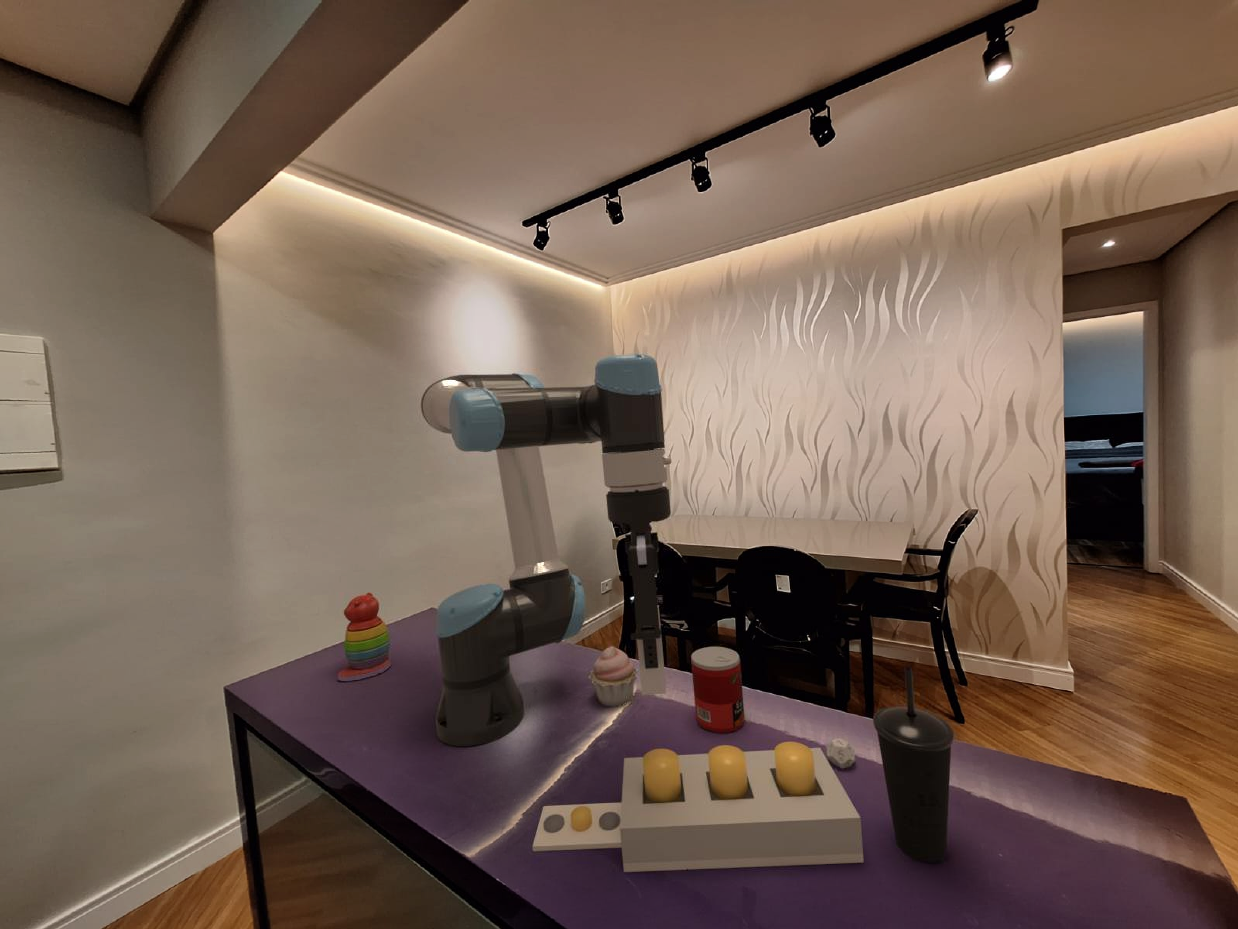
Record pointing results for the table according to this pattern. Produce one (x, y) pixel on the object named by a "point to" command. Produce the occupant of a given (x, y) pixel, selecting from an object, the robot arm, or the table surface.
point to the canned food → (718, 689)
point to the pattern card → (579, 827)
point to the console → (737, 820)
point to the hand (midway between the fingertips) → (653, 672)
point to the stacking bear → (365, 637)
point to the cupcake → (613, 677)
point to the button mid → (728, 772)
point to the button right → (795, 769)
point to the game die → (840, 753)
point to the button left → (662, 776)
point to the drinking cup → (916, 775)
